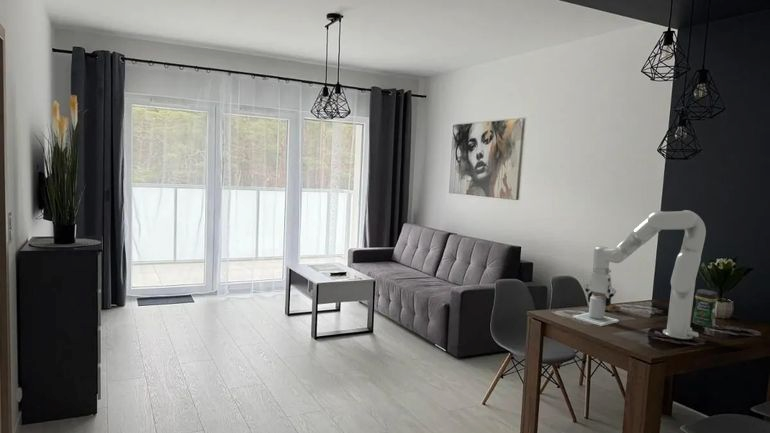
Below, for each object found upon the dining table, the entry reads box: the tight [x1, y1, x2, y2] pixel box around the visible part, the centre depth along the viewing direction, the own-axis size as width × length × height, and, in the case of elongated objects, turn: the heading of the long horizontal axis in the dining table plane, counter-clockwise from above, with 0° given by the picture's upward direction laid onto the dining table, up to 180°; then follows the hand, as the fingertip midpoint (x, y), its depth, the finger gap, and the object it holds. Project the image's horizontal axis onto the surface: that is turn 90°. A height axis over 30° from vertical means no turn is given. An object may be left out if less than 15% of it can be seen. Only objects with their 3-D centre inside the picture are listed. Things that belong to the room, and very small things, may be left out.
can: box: [588, 294, 606, 319], centre depth 274 cm, size 8×8×12 cm
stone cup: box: [592, 292, 622, 312], centre depth 298 cm, size 15×12×15 cm
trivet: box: [572, 312, 620, 327], centre depth 275 cm, size 16×16×1 cm
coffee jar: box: [691, 288, 719, 328], centre depth 275 cm, size 10×8×19 cm
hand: (599, 303), depth 274 cm, fingers open, 9 cm apart
